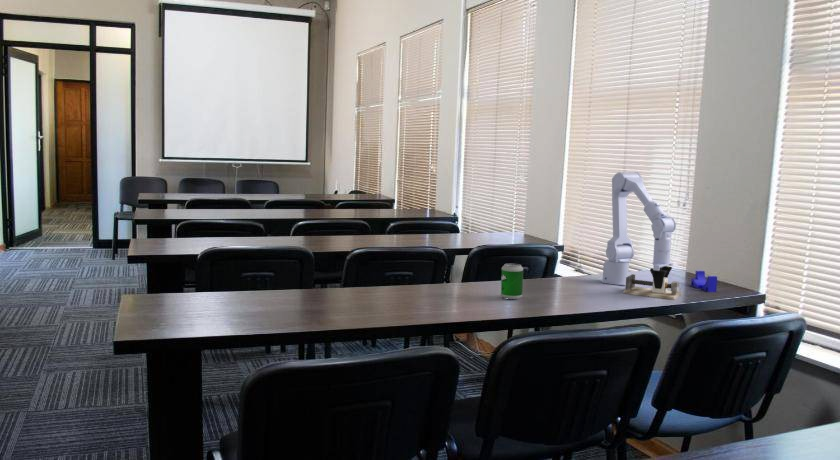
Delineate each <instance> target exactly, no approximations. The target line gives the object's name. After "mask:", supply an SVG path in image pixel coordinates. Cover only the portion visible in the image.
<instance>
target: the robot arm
mask: <svg viewBox="0 0 840 460" xmlns="http://www.w3.org/2000/svg"><path fill="white" fill-rule="evenodd" d="M644 180H645V179H644V178H643V177H642V175H641V173H640V172H636V171H635V172H617V173H615V174H614V175H613V177H612V178H611V202H612V203H611V204H612V205H611V206H612V207H611V208H612V237H611V238H610V239H609V240H608V241H607V243H606V244H607V247H606V250H605V255H606V257H607V259H606V260H604V262H603V266H602V281H601V283H602V284H610V285H617V286H624V287H626V277H628V276H629V271H630V270H629V268H630V262H631V259H633V258H634V256H635V249H634V247H633V241H632V239H631V238H630V237H629V236H628V213H627V212H628V211H627V210H628V209H627V208H628V206H627V203H628V201H627V197H629V195H630V194H631V193H634V195H635V196H636V197H637V199H639V201H640V202H641V204H642V205H644V207H643V212H644V213H645V215H646V216H647V218H648V219H649V221H650V222H651V227H650V228H651V230H652V232H653V233H652V234H653V235H652V237H653V238H654V240H653V241H654V243H653V259H652V260H653V261H652V268H650V269H649V272H650V273H651V276H652V281H653V280H654V286H655V288H657V289H661V288H662V285H663V280H664V277H666V278H668V279H669V275H670V273H671V271H672V269H673V266H674V263H673V262H671V253H672V251H671V250H672V249H671V248H672V235H673V234H672V233H674V231H675V230H676V227H677V224H676V220H675V219H674V217H671V216H670V215H668V214H667V213H666V212H665V211H664V210H663V208H662V206H661V204H660V203H659V202H658V201H654V200H653V199H652V197H651V194H650V193H649V191H648V190H647V188H646V186H645V184H644V183H645V181H644Z"/></svg>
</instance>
